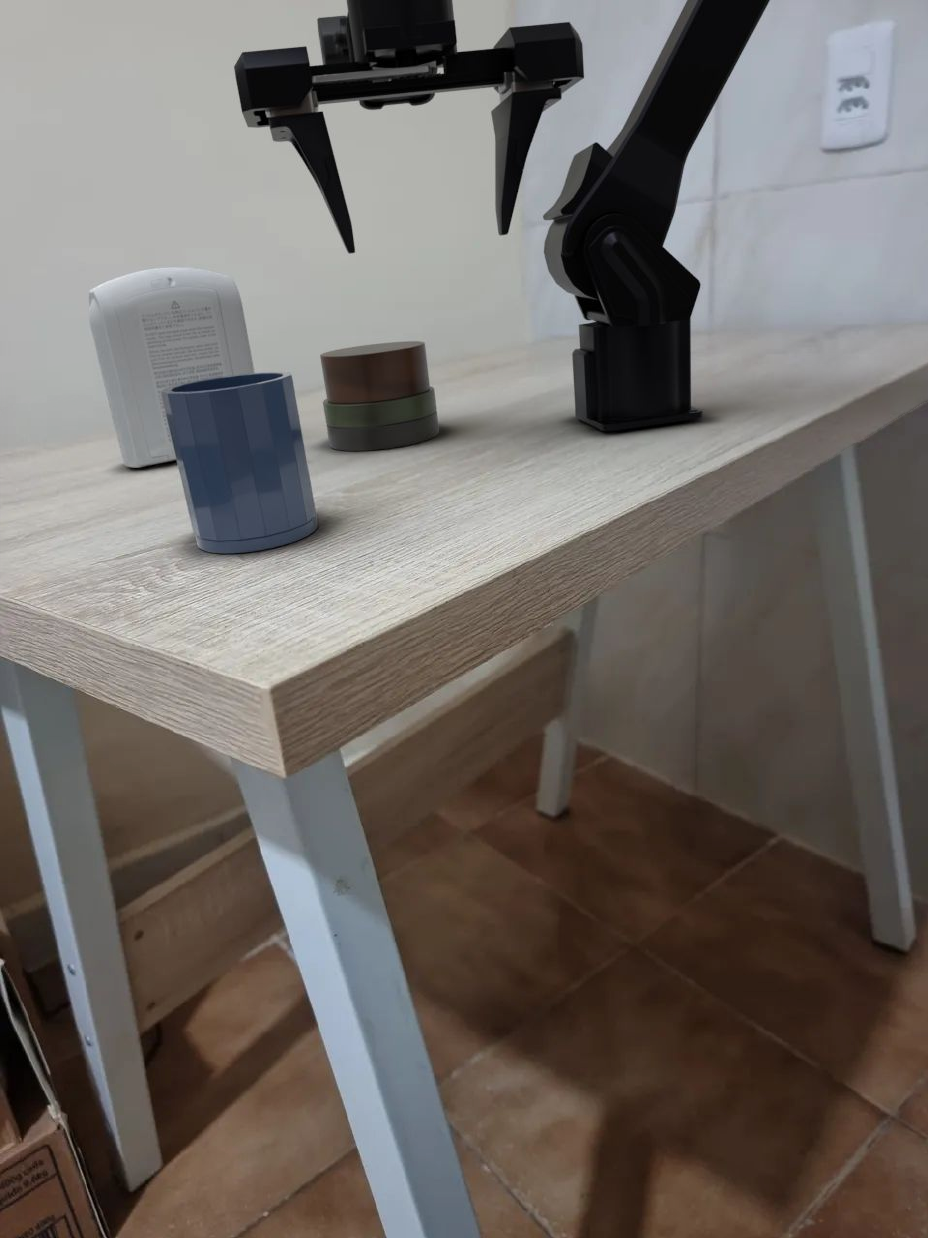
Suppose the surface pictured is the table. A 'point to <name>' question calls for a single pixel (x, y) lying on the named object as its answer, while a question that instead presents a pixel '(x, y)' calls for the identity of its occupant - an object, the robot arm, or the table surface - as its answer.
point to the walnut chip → (375, 372)
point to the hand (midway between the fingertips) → (428, 243)
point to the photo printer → (163, 347)
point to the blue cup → (242, 461)
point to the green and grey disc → (382, 423)
